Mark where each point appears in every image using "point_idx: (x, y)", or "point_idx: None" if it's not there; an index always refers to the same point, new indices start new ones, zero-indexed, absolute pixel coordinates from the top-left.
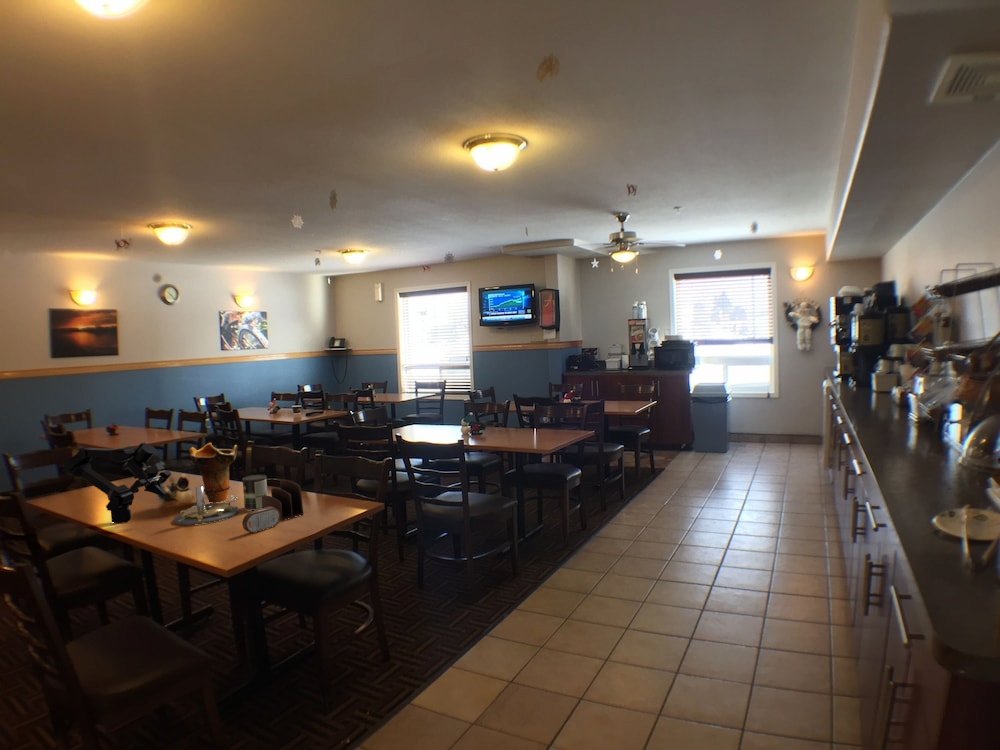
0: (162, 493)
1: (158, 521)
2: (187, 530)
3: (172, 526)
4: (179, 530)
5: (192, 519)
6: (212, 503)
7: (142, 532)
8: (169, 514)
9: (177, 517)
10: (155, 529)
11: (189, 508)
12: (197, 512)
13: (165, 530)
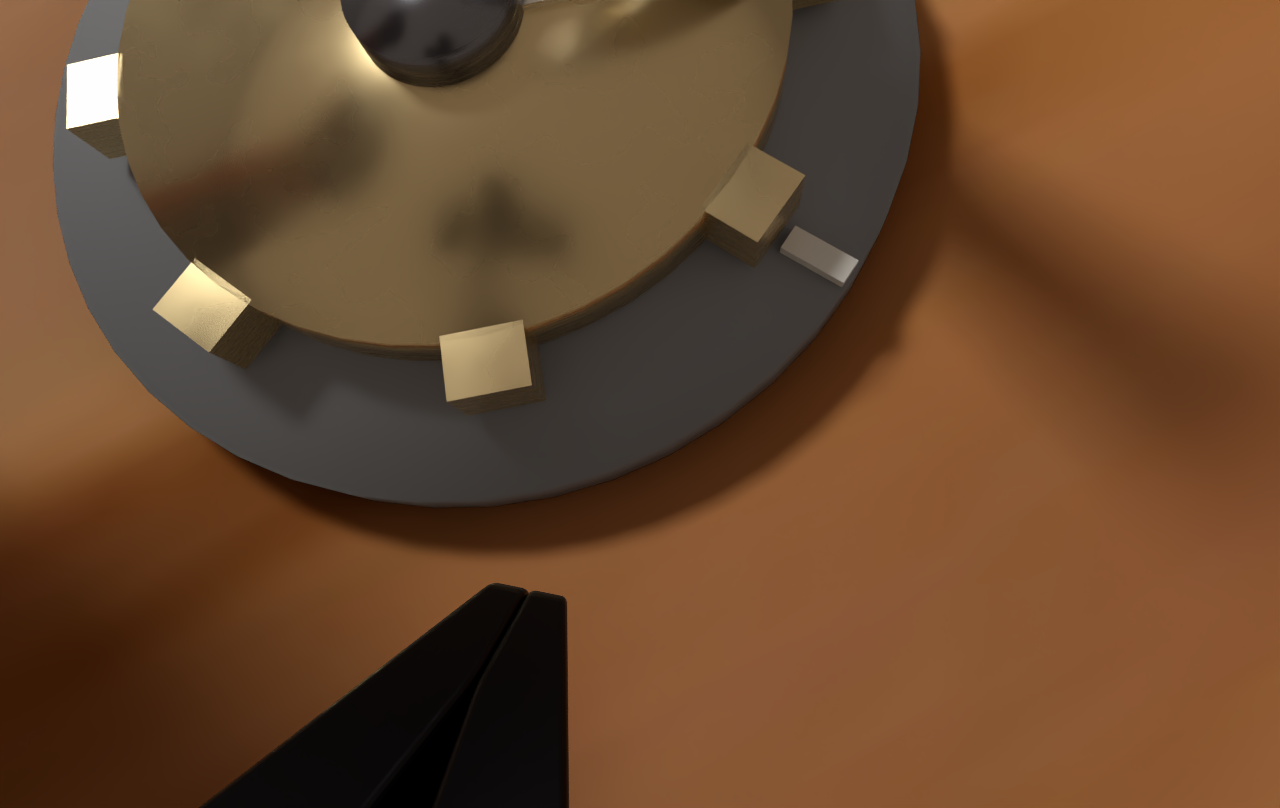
0: (565, 685)
1: (584, 787)
2: (1144, 28)
3: (920, 362)
4: (1138, 142)
5: (784, 104)
6: (130, 76)
7: (1226, 734)
8: (182, 803)
9: (619, 418)
10: (1062, 575)
11: (335, 322)
12: (642, 48)
13: (1127, 364)
